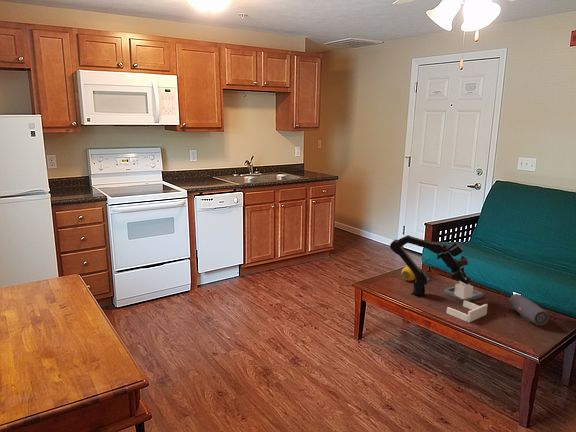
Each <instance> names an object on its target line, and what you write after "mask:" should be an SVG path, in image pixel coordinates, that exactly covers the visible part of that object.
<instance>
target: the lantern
mask: <svg viewBox="0 0 576 432" xmlns="http://www.w3.org/2000/svg"><path fill="white" fill-rule="evenodd" d="M418 268H419V269H420V270H422V271H423V270H425V267H422V266H418ZM400 278H403V279H404V280H405V281H407V282H411V281H414V280H416V278H415V275H414V273H413V272H412V271H411V269H410V268H409V267H408V266H407V265H406V266H404V268H402V270H401V276H399V277H398V279H400Z"/></svg>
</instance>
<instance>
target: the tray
mask: <svg viewBox="0 0 576 432" xmlns="http://www.w3.org/2000/svg"><path fill="white" fill-rule="evenodd" d="M454 293H455V286H452V287H447V288H445V289H443V294H444V295H448V296H450V297H451V298H454V299H456V300H459V301H462V302H463V301H464V300H465V301H468V302H471V301H475V300H477V299H482V298H483V296H484V293H483V292H480V291H478V290H475V289H473V293H472V298H467V299H461V298H460V297H458V296H456V295H454Z"/></svg>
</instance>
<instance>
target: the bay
mask: <svg viewBox="0 0 576 432" xmlns="http://www.w3.org/2000/svg"><path fill="white" fill-rule="evenodd" d="M462 307H464V308H467V309H469V310H468V311H467V313H464V312H462V311H459V310H458V309H454V308H452V307H449V306H447V307H446V314H447V315H450V316H451V317H455V318H457V319H459V320H462V321H464V322H467V323H471V322H473V321H476V320H478V319H480V318H482V317H484V316H487V313H488V307H489V306H488V303H484V304H482V305H479V304H476V303H473V302H471V301H469V302H468V301H465V300H464V301H462Z"/></svg>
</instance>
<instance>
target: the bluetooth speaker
mask: <svg viewBox="0 0 576 432" xmlns="http://www.w3.org/2000/svg"><path fill="white" fill-rule="evenodd" d="M508 305H509V306H510V308H512V309H513V310H515V311H516V312H517V313H518V315H520V316H521V318H523V319H525V320H526V321H528V323H529V322H530V323H533V324H535V325H537V326H544V325H546V324H547V323H548V321H549V320H550V319H549V318H550V317H549V313H548V312H547V311H546V310H545V309H543V308H542V307H540V306H539V305H538V304H536V303H535V302H534V301H532V300H530V299H528V298H527V297H525V296H523V295H521V294H519V293H514V294H512V295H511V296H510V297H509V299H508Z"/></svg>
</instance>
